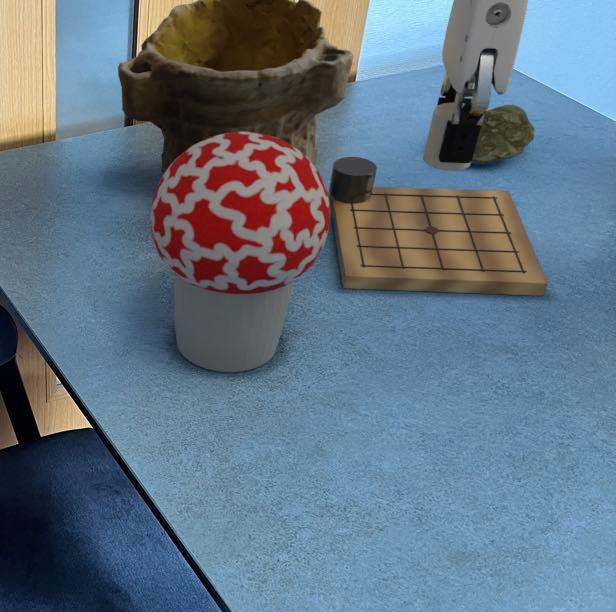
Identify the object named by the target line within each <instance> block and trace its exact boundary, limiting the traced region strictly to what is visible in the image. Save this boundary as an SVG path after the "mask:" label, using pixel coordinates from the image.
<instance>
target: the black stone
mask: <svg viewBox="0 0 616 612" xmlns="http://www.w3.org/2000/svg"><path fill="white" fill-rule="evenodd" d="M331 169H332V170H331V176H330V182H329V188H328V195H331V196H332V197H333V198H335V199H337V200H339V201H343V202H349V203H358V202H363V201H366V200H368V199H369V198H370V197H371V196H372V191H373V187H375V186H374V184H375V181H376V175H377V169H378V167H377V164H376V163H375V162H374V161H372V160H370V159H367V158H364V157H360V156H345V157H344V156H343V157H340V158H338V159H336V160H335V161H334V162H333V164H332V168H331Z"/></svg>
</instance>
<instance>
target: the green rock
mask: <svg viewBox="0 0 616 612" xmlns="http://www.w3.org/2000/svg"><path fill="white" fill-rule="evenodd" d="M535 131H536V129H535V127H534V126H533V124H532V123H531V122H530V120H529V118H528V114H527V112H526V111H525V110H524V109H523V108H522V107H520V106H518V105H514V104H503V105H500V106H497V107H493V108H491V109H487V110H486V112H485V114H484V119H483V123H482V126H481V129H480V133H479V137H478V140H477V144H476V148H475V151H474V155H473V159H472V162H471V164H476V165H484V164H490V163H497V162H498V161H505V160H509V159H511V158H514V157H515V156H519V154H521V153H523V150H524V149H525V148H526V147H528V146H529V145H530V143H531V142H532V141H533V140H534V139H535Z"/></svg>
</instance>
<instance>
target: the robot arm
mask: <svg viewBox="0 0 616 612" xmlns="http://www.w3.org/2000/svg"><path fill="white" fill-rule="evenodd" d="M528 4H529V0H453V2H452V6H451V9H450V13H449V17H448V21H447V25H446V26H447V27H446V29H445V35H444V36H445V37H444V40H443V46H442V51H441V54H442V55H441V57H442V58H441V60H442V63H443V67H444V69H445V75H444V78H443V82H442V84H441V87H440V96H439V97H438V99H437V103H436V106H438V105H440V104H443V103H451V102H455V103H454V108H453V113H452V119H451V120H448V121H447V125H446V129H445V133H444V137H443V141H442V145H441V149H440V153H439V160H440V162H444V163H470V162H471V161H472V159H473V155H474V151H475V148H476V144H477V140H478V137H479V133H480V129H481V126H482V123H483V119H484V114H485V112H486V111H488V110H489V109H488V108H489V107H490V102H491V91H492V87H493V89H494V91H495V93H497V95H498V96H502V95H504V94H506V93H507V92H508V90H509V87H510V83H511V79H512V76H513V70H514V67H515V64H516V59H517V54H518V52H519V51H518V50H519V45H520V43H521V42H520V41H521V37H522V33H523V28H524V23H525V19H526V15H527V9H528ZM463 103H465V105H464V106H463V108H462V105H463Z"/></svg>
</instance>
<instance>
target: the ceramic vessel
mask: <svg viewBox="0 0 616 612" xmlns="http://www.w3.org/2000/svg"><path fill="white" fill-rule="evenodd" d="M322 13H323V11H322V10H320V8H319V7H318V6H316V5H315V4H313V3H312V2H311V1H309V0H298V1H294V0H196V1H193V2H192V3H183V4H179V5H176V6H174V7H173V8H172V9H171V10H170V13H169V14H168V16H167V17H164V18H163V20H162V21H161V23H159V25H158V27H157V29H156V30H154V32H152V33H151V35H149V36H148V37H147V38H145V40H144V41H143V42H142V44H141V47H140V49H141V50H140V51H139V52H138V53H137V56H135V57H133V58H131V59H128V60H127V61H123V62H119V65H118V67H117V76H118V79H119V83H120V87H121V109H122V112H123V114H124V115H125V116H127V118H131V119H132V120H134V121H137V122H150V123H152V124H153V125H154V126H155V127H157V128H158V129H160V131H161V135H162V137H163V145H162V152H161V153H162V154H161V169H160V170H161V171H160V172H161V174H162V175H163V174H164V173H165V172H166V170H167V169H168V168H169V166H170V165H171V164H172V163H173V162H174V160H175V159H177V158H178V157H179V156H180V155H181V154H182V153H183V152H185V151H186V150H187V149H189V148H190V147H192V146H193V145H195V144H197V143H199V142H201V141H203V140H205V139H207V138H210V137H212V136H216V135H220V134H225V133H232V132H256V133H261V134H265V135H269V136H273V137H276V138H279V139H281V140H283V141H285V142H287V143H289V144H290V145H292V146H293V147H295V148H296V149H298V150H299V151H300V152H302V153H303V154H304V155H305V156H306V157H307V158H308V159H309V160H310V161H311V163H312V164H313V165H314V166H315V165H316V163H317V158H318V147H319V146H318V141H317V140H318V139H317V122H318V114H320V113H323V112H325V111H327V110H330V109H333V108H335V107H336V106H337V105H339V104H340V103H341V102H342V101H343V100H344V99H345V97H346V96H345V95H346V92H347V85H348V80H349V78H350V73H351V69H352V65H353V60H354V54H353V52H352V51H351V50H348V49H342V48H339V47H338V46H336V45H334V44H331V42H330V40H329V39H328V38H326V32H325V29H324V27H323V26H321V19H322V18H321V17H322Z"/></svg>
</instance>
